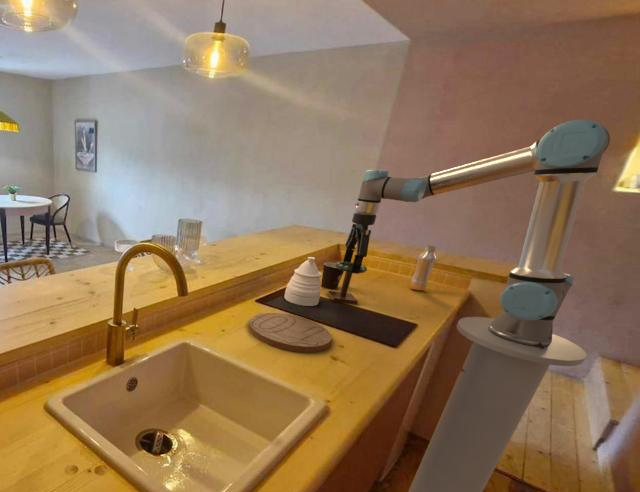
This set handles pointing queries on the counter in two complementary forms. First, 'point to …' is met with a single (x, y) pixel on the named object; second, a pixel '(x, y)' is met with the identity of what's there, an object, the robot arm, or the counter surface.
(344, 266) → the ring
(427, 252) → the plastic bottle
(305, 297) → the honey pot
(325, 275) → the coffee mug
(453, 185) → the robot arm
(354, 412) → the counter surface
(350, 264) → the post
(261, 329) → the trivet
